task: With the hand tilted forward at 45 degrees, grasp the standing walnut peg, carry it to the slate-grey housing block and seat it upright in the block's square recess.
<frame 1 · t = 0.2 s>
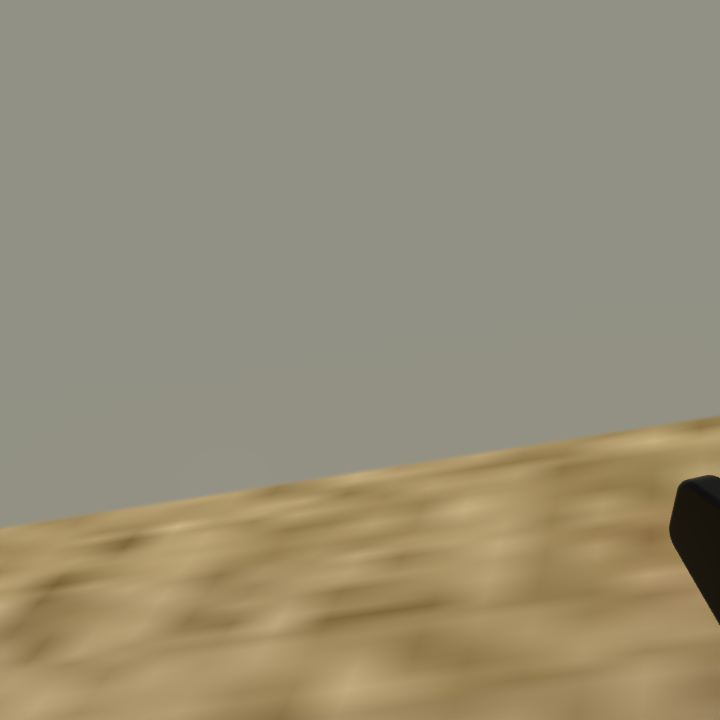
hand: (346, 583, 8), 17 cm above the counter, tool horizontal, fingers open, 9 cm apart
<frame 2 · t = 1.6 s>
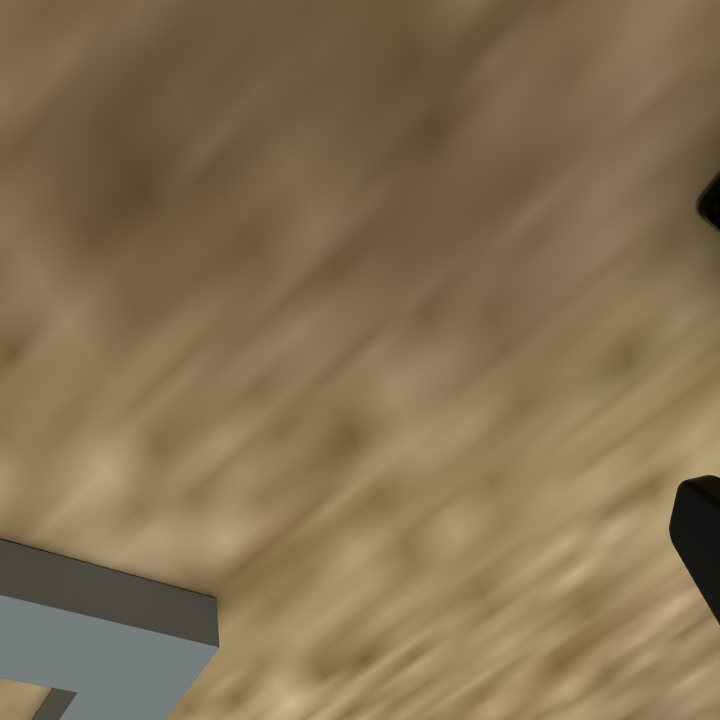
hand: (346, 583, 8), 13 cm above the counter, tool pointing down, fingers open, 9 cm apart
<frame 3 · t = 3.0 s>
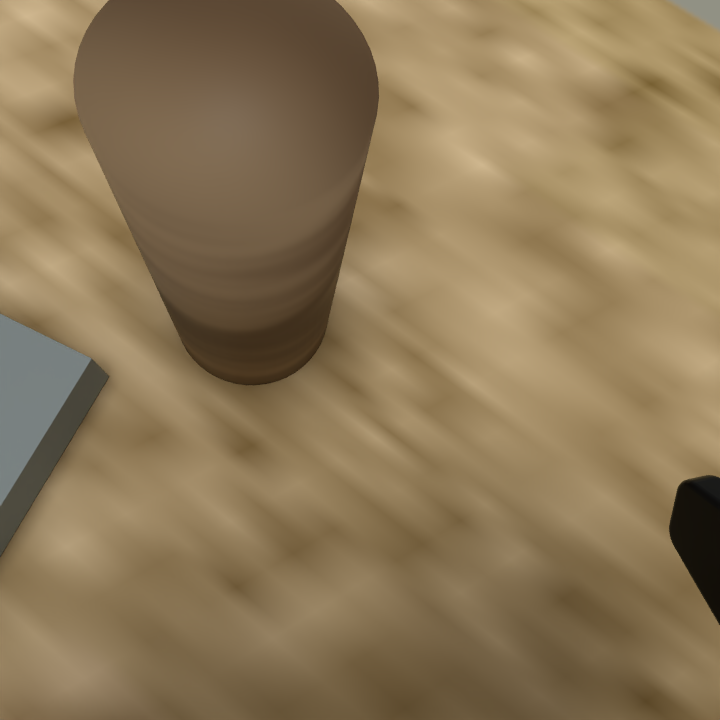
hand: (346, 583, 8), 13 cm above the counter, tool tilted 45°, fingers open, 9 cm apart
walnut peg: (252, 311, 23), on the counter
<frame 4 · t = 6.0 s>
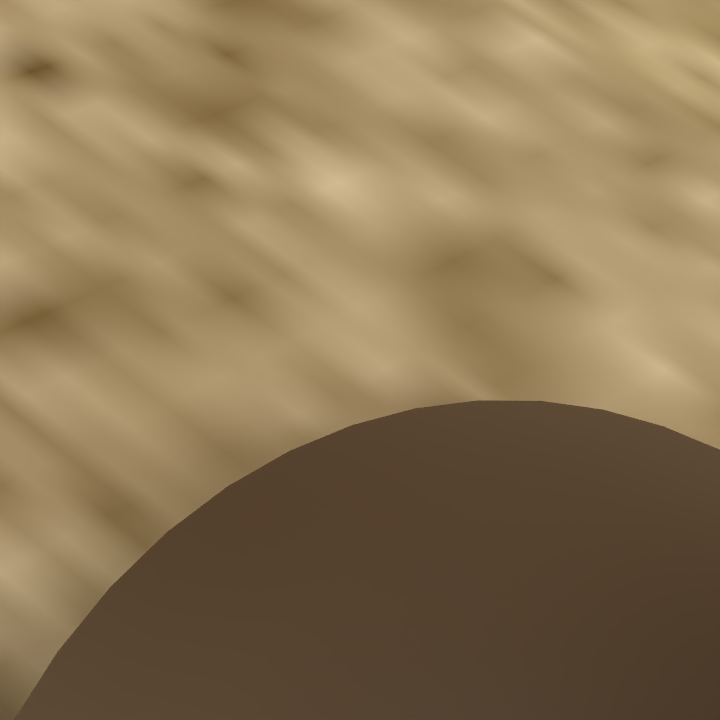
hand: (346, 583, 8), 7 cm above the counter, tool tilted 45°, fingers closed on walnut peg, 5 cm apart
walnut peg: (327, 638, 14), on the counter, touching gripper
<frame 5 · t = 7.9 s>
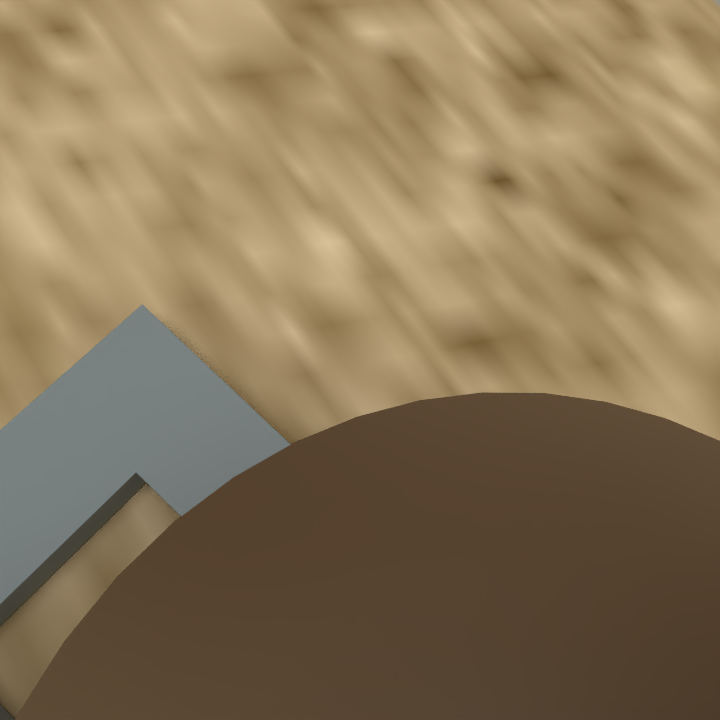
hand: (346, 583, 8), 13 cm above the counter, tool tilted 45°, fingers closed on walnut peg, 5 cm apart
walnut peg: (328, 635, 14), point 7 cm above the counter, touching gripper
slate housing: (143, 652, 20), on the counter
when the fingers open (8 cm above the counter, at t = 10.0 s): walnut peg drops 1 cm, resting in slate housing.
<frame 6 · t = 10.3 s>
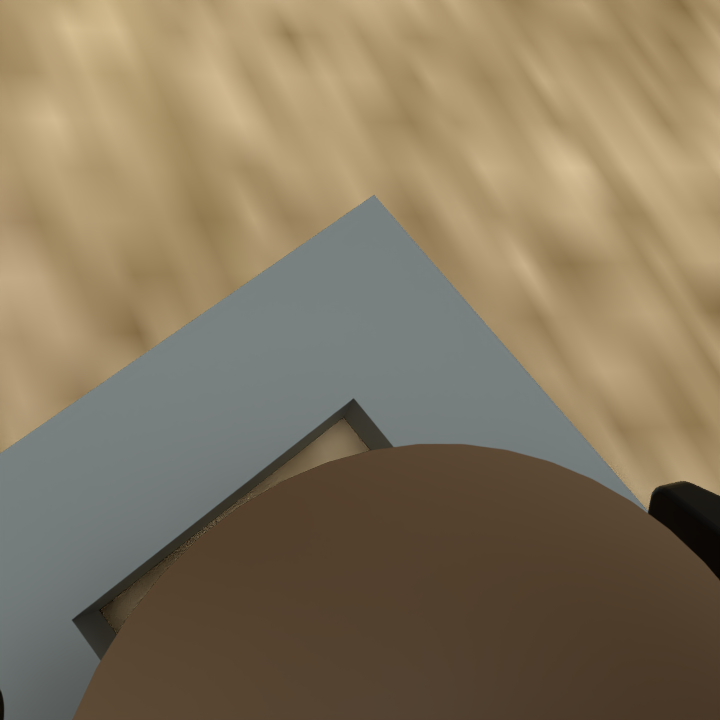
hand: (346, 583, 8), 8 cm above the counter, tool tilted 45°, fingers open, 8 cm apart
walnut peg: (322, 631, 16), resting in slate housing
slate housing: (321, 629, 16), on the counter
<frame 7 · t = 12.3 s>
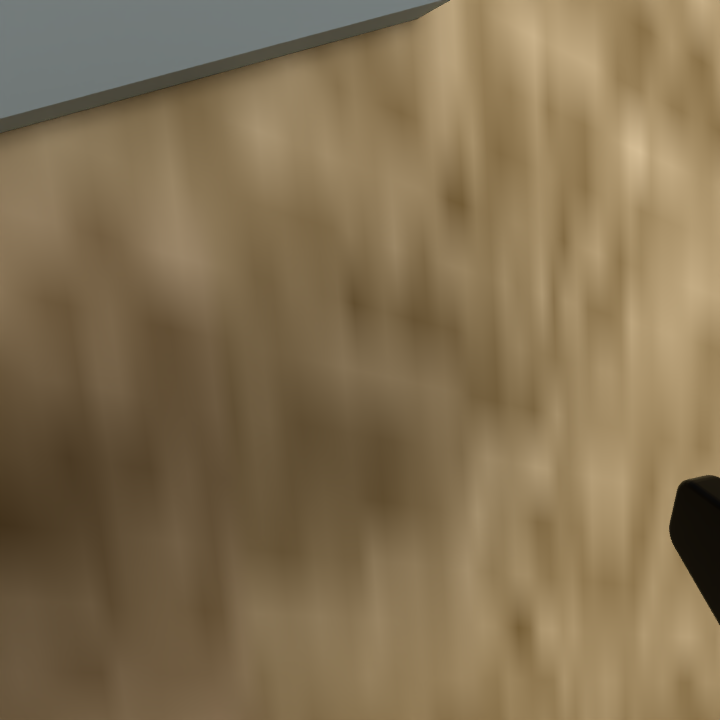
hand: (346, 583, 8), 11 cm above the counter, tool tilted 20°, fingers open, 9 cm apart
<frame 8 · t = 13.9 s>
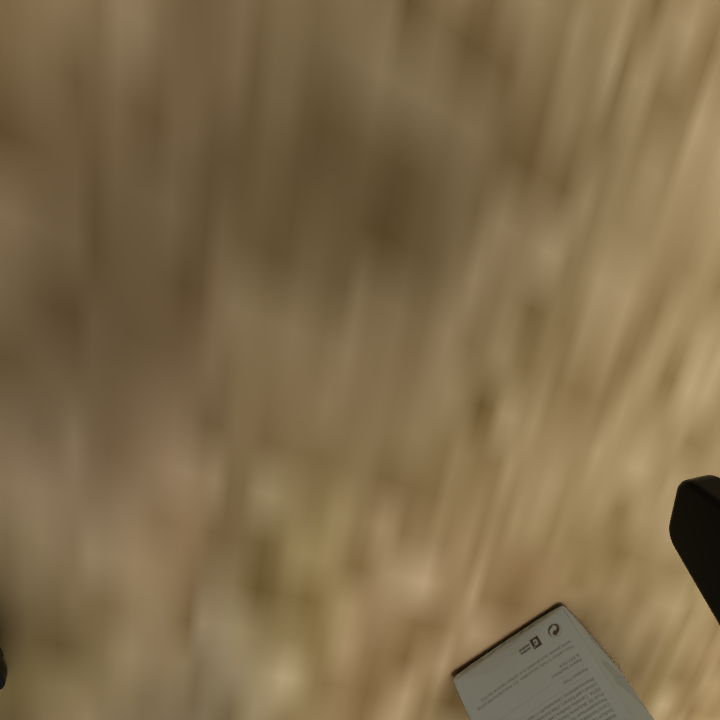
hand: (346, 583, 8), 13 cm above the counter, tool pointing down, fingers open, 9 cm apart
skincare box: (542, 668, 34), on the counter
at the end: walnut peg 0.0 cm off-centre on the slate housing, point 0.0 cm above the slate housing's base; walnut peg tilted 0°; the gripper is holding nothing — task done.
